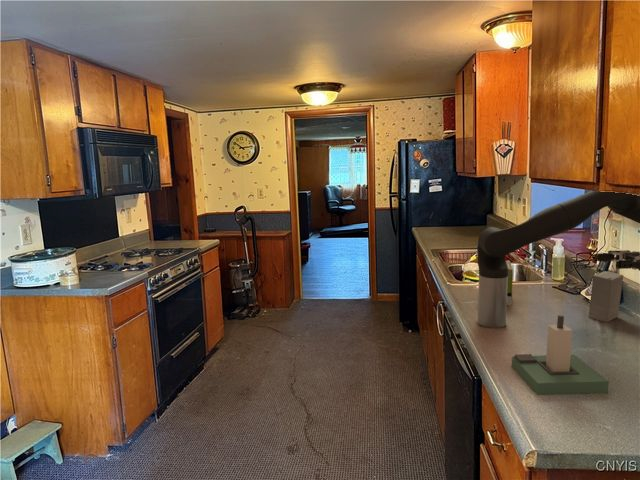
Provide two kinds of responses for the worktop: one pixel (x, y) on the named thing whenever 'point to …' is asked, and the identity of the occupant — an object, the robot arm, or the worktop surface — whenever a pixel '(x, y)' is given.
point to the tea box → (509, 283)
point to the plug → (558, 346)
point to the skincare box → (605, 296)
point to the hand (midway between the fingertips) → (606, 260)
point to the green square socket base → (558, 376)
